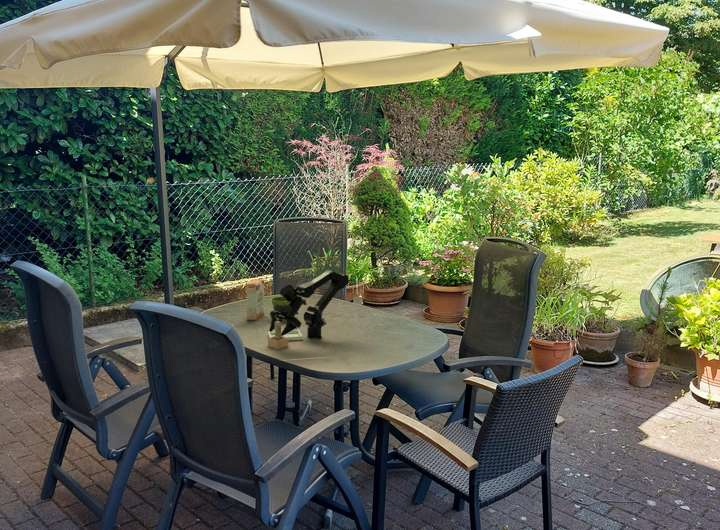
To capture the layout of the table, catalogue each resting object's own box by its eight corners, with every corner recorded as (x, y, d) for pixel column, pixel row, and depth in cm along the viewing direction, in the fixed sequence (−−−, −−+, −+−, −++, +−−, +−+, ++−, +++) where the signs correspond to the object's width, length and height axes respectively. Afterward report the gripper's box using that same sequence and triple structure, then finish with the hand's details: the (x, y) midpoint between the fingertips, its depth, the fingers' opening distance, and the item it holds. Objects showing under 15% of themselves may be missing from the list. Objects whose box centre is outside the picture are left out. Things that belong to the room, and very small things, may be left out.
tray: (299, 334, 318) (299, 329, 318) (302, 340, 307) (302, 336, 306) (268, 336, 314) (268, 331, 314) (270, 343, 303) (270, 338, 303)
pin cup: (279, 343, 302) (279, 335, 301) (288, 347, 297) (288, 338, 296) (268, 346, 297) (267, 337, 296) (276, 350, 292) (276, 341, 291)
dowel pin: (281, 344, 299) (280, 321, 297) (281, 346, 296) (281, 322, 294) (274, 345, 298) (274, 321, 296) (275, 347, 295) (275, 323, 293)
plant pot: (290, 321, 343) (290, 301, 341) (269, 320, 343) (269, 301, 341) (293, 315, 354) (293, 296, 352) (273, 315, 354) (272, 296, 352)
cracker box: (257, 320, 343) (256, 284, 339) (246, 320, 344) (245, 283, 340) (265, 314, 356) (264, 279, 352) (255, 313, 357) (254, 278, 353)
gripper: (272, 294, 302) (254, 320, 296) (296, 301, 289) (277, 328, 283) (285, 307, 309) (267, 332, 303) (309, 314, 296) (291, 341, 290)
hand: (275, 333), depth 295 cm, fingers open, 9 cm apart
